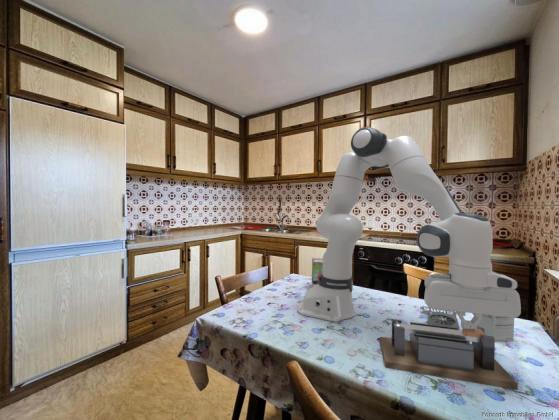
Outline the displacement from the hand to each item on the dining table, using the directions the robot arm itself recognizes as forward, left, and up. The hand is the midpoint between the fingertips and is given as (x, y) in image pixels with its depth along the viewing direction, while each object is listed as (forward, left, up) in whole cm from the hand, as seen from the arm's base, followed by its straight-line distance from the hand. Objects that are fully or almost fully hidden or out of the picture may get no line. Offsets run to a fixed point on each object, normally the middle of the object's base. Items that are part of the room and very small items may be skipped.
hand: (468, 328), depth 65 cm
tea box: (-41, +52, -10) cm, 67 cm away
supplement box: (+15, +21, -10) cm, 28 cm away
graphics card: (+1, +25, -11) cm, 27 cm away
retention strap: (-7, 0, -3) cm, 7 cm away
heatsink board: (-7, 0, -10) cm, 12 cm away
